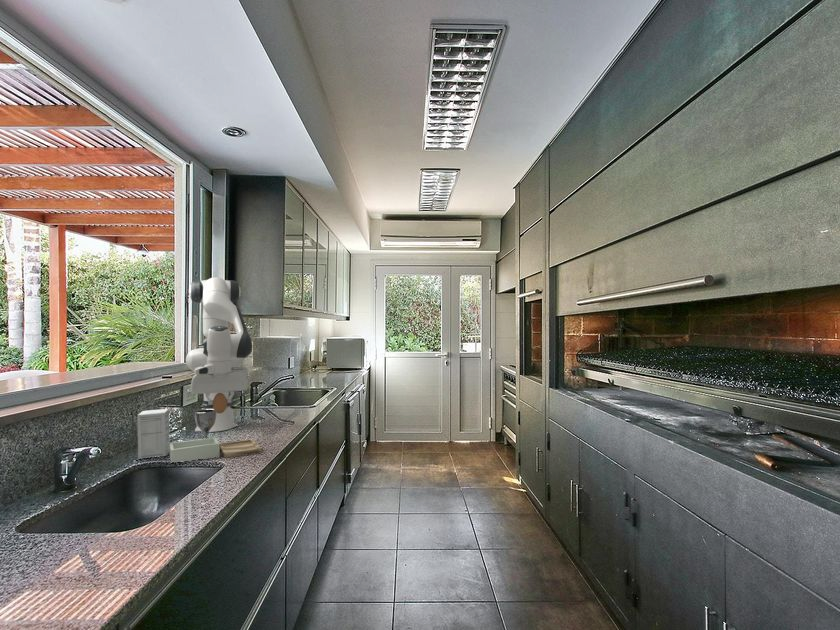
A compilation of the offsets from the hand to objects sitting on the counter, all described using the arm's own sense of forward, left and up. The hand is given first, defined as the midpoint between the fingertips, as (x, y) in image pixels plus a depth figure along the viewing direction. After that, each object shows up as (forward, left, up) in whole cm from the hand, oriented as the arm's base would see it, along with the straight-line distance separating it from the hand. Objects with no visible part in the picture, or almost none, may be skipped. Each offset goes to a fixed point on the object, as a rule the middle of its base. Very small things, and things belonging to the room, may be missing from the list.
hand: (220, 403), depth 178 cm
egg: (0, 0, -4) cm, 4 cm away
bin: (0, -9, -19) cm, 21 cm away
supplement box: (-11, -22, -19) cm, 31 cm away
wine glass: (-11, -4, -19) cm, 22 cm away
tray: (0, +7, -19) cm, 20 cm away
